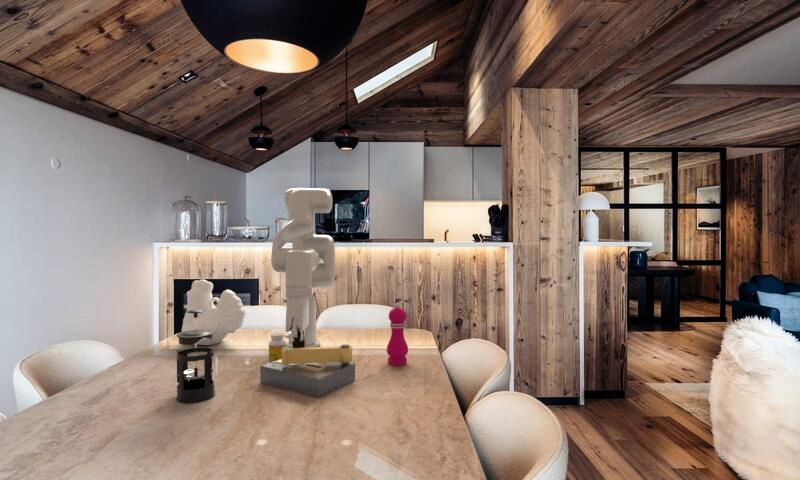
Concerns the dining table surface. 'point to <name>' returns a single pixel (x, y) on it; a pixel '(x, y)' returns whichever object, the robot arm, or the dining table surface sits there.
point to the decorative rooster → (213, 312)
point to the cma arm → (317, 355)
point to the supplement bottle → (276, 346)
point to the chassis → (307, 376)
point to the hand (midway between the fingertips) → (298, 353)
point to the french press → (196, 380)
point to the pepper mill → (397, 337)
